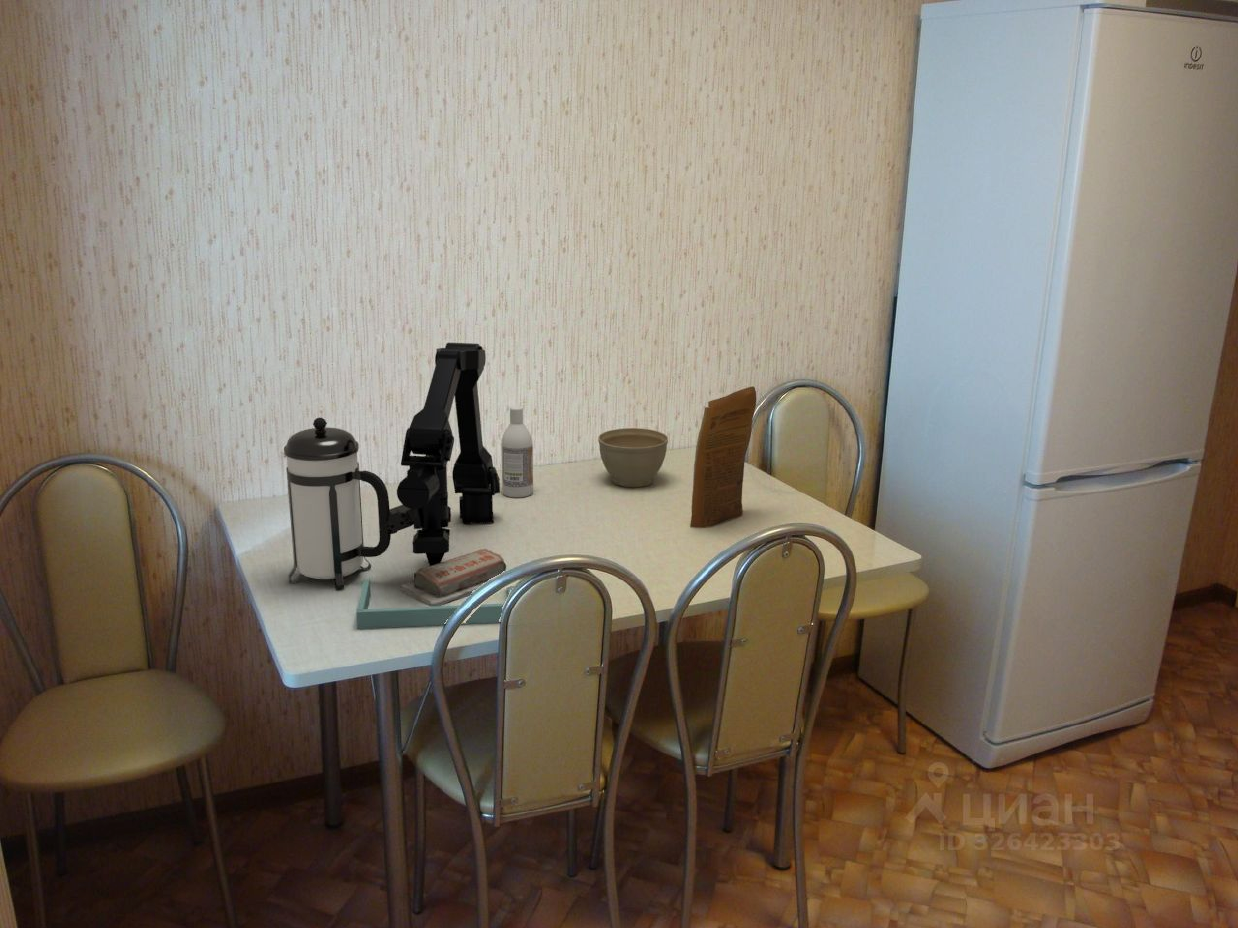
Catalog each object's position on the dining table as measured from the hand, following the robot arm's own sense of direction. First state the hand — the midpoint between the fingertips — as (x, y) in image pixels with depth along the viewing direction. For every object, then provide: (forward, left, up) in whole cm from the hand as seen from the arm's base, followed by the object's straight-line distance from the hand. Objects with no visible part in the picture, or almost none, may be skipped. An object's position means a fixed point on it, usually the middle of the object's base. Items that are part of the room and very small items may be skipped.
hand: (434, 571), depth 199 cm
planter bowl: (-44, -53, -1) cm, 69 cm away
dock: (-1, +13, -1) cm, 13 cm away
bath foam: (-17, -47, -1) cm, 50 cm away
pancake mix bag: (-59, -26, -1) cm, 64 cm away
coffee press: (+18, -3, -1) cm, 18 cm away
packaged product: (-4, +4, -2) cm, 6 cm away
